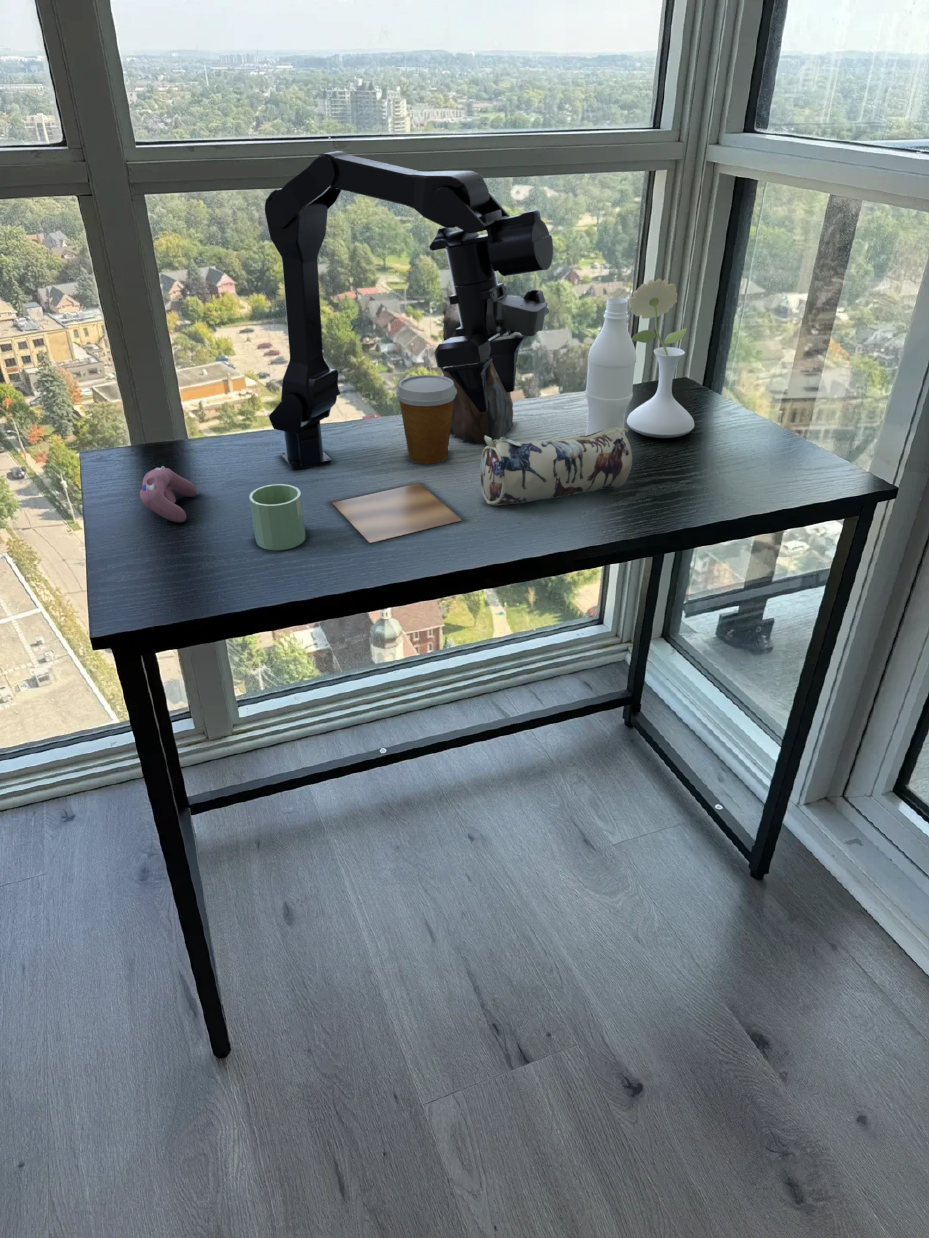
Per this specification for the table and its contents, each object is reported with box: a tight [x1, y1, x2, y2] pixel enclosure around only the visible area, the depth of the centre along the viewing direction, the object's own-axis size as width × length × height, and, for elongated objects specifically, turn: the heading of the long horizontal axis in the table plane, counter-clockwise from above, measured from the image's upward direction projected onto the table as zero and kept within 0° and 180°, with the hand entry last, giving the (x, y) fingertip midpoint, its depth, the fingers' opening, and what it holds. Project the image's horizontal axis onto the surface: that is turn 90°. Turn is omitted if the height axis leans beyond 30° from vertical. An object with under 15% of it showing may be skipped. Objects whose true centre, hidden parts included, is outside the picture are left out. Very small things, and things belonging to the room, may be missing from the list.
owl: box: [440, 306, 514, 447], centre depth 143 cm, size 13×13×20 cm
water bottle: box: [584, 297, 637, 436], centre depth 130 cm, size 7×7×25 cm
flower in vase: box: [626, 278, 695, 439], centre depth 142 cm, size 13×11×25 cm
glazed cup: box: [248, 483, 307, 551], centre depth 114 cm, size 7×7×6 cm
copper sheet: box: [331, 482, 463, 544], centre depth 123 cm, size 14×14×1 cm
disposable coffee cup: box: [395, 374, 457, 464], centre depth 136 cm, size 10×10×12 cm
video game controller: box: [139, 465, 198, 523], centre depth 122 cm, size 10×5×7 cm, turn 5°
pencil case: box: [479, 427, 633, 506], centre depth 125 cm, size 22×8×10 cm, turn 108°
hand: (497, 401), depth 117 cm, fingers open, 9 cm apart
